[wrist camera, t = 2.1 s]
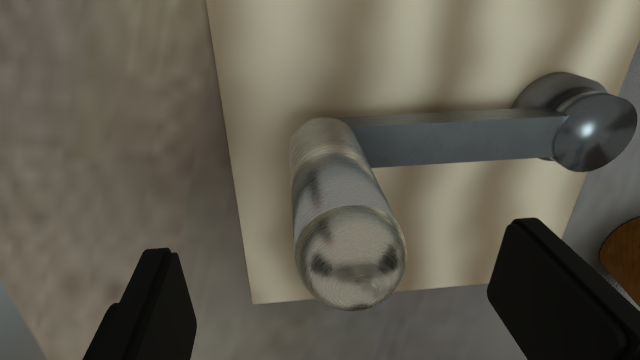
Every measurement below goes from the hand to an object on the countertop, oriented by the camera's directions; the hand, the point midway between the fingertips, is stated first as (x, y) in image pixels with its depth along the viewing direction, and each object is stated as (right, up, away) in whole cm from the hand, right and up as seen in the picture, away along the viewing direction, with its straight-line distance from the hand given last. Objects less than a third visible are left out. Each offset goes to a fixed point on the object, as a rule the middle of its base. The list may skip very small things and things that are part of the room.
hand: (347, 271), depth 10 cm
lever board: (+6, +4, +15) cm, 17 cm away
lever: (+7, +6, +10) cm, 14 cm away
